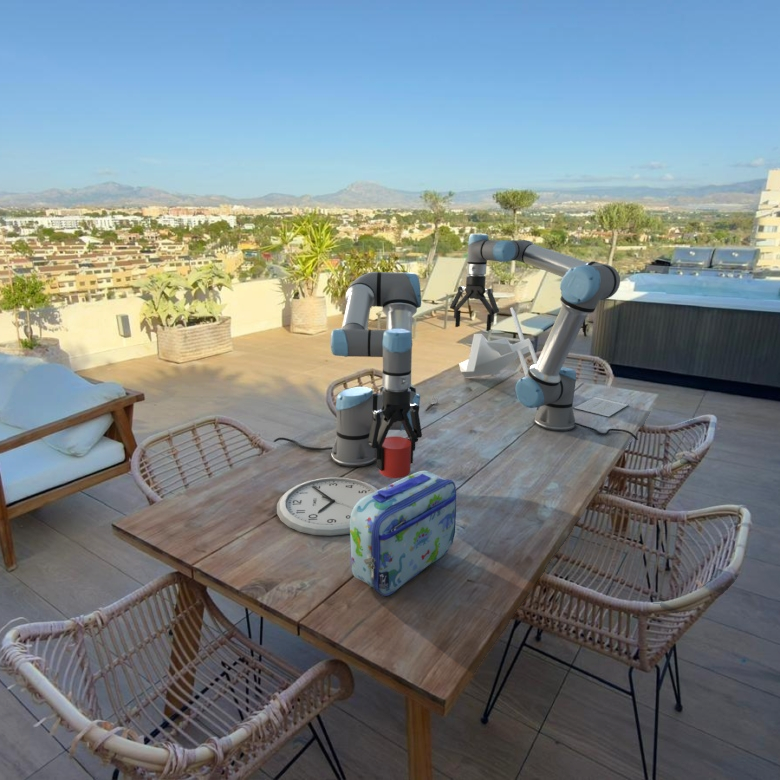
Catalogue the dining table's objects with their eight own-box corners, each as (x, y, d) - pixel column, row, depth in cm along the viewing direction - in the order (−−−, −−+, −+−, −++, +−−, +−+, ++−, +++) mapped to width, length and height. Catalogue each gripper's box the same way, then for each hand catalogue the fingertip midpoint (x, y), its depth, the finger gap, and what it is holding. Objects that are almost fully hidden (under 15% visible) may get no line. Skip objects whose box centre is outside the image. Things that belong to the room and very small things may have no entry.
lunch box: (378, 608, 104) (379, 516, 98) (343, 583, 112) (342, 495, 105) (459, 554, 122) (465, 473, 116) (425, 535, 129) (428, 458, 123)
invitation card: (608, 416, 214) (573, 407, 224) (608, 416, 214) (573, 408, 224) (628, 404, 229) (594, 396, 238) (628, 405, 229) (594, 397, 238)
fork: (422, 411, 216) (422, 407, 215) (433, 400, 230) (433, 396, 230) (428, 412, 215) (429, 407, 215) (438, 401, 230) (439, 396, 229)
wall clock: (392, 527, 129) (268, 531, 127) (391, 533, 130) (269, 537, 127) (383, 473, 158) (282, 475, 155) (383, 478, 158) (282, 480, 156)
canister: (373, 468, 147) (373, 440, 144) (398, 461, 152) (399, 434, 149) (391, 481, 140) (391, 451, 138) (416, 473, 145) (417, 444, 142)
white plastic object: (480, 419, 265) (459, 396, 241) (461, 346, 287) (441, 319, 263) (551, 395, 253) (536, 368, 228) (526, 321, 275) (510, 290, 251)
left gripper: (367, 398, 130) (367, 479, 137) (437, 386, 141) (434, 462, 148) (353, 389, 136) (354, 468, 143) (422, 379, 147) (419, 452, 154)
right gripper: (443, 273, 209) (441, 326, 215) (502, 277, 196) (498, 333, 203) (451, 272, 215) (449, 323, 221) (509, 276, 202) (505, 330, 209)
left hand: (394, 465), depth 146 cm, fingers closed on canister, 9 cm apart
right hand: (472, 328), depth 212 cm, fingers open, 13 cm apart
